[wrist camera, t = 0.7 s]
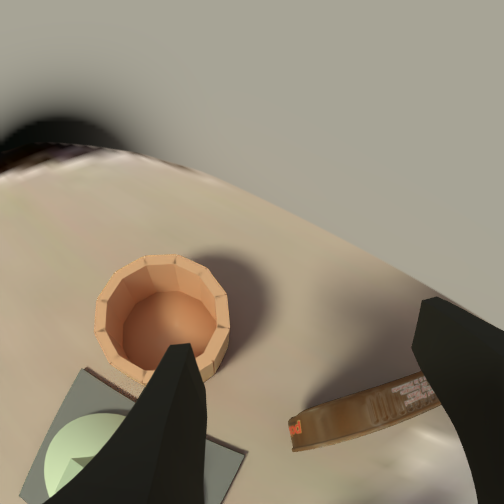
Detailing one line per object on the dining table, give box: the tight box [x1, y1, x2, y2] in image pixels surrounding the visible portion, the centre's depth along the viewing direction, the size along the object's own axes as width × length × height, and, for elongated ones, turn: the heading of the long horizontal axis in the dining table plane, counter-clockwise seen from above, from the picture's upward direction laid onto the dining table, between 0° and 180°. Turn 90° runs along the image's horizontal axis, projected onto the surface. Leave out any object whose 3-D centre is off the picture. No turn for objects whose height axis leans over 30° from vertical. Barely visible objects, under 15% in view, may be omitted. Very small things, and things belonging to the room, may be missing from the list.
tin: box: [288, 371, 442, 452], centre depth 19 cm, size 15×3×8 cm, turn 99°
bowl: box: [94, 254, 230, 386], centre depth 22 cm, size 9×9×5 cm
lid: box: [44, 413, 126, 497], centre depth 15 cm, size 12×12×5 cm
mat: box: [19, 368, 245, 504], centre depth 17 cm, size 14×14×1 cm
